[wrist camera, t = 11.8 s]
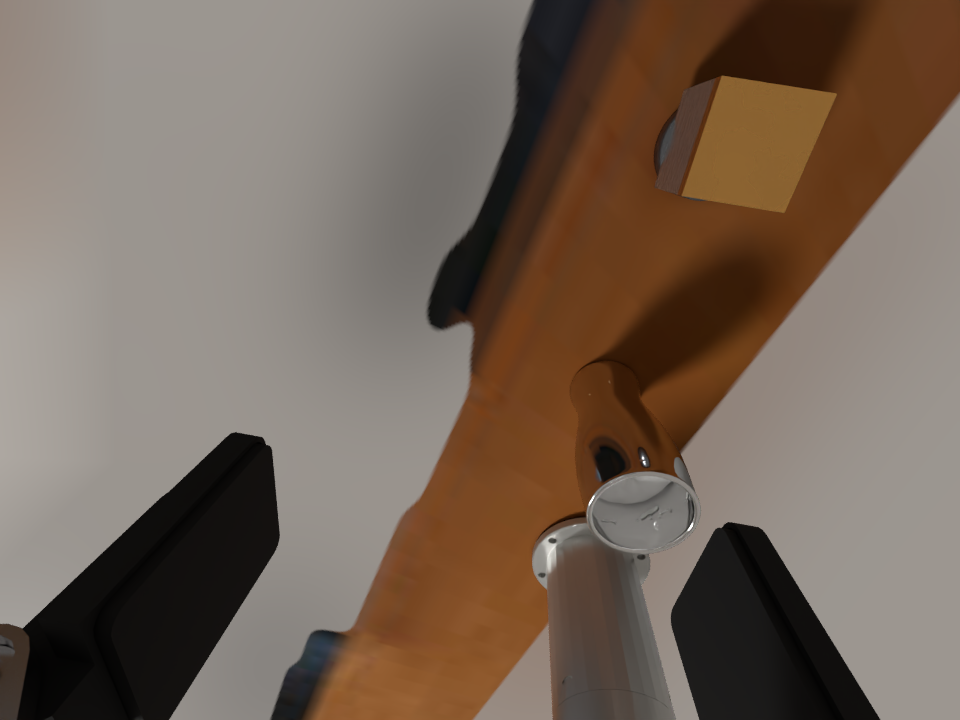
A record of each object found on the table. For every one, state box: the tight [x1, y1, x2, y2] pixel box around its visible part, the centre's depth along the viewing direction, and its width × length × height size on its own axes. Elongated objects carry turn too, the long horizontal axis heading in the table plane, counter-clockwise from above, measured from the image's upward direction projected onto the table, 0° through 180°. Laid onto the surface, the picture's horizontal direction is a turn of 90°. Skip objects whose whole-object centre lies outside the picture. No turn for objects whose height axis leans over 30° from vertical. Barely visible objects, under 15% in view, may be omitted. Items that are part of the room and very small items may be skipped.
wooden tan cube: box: [654, 76, 837, 213], centre depth 26 cm, size 6×6×6 cm
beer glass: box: [570, 361, 701, 554], centre depth 32 cm, size 7×7×15 cm
